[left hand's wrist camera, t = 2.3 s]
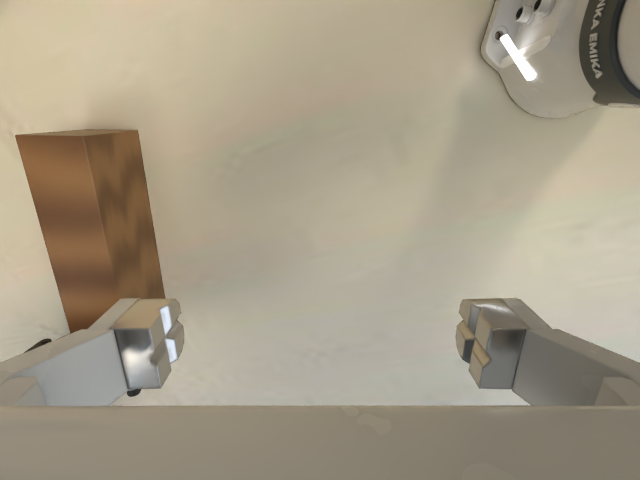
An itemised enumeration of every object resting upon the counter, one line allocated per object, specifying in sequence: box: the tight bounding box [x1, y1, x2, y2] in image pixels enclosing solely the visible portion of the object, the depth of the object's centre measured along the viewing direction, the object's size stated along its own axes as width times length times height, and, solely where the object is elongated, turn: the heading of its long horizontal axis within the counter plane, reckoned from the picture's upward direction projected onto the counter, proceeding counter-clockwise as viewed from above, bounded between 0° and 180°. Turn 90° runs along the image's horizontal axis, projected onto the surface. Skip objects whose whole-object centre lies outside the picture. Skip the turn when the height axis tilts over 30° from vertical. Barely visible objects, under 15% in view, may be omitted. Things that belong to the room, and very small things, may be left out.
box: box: [15, 130, 165, 333], centre depth 41 cm, size 27×6×10 cm, turn 179°
